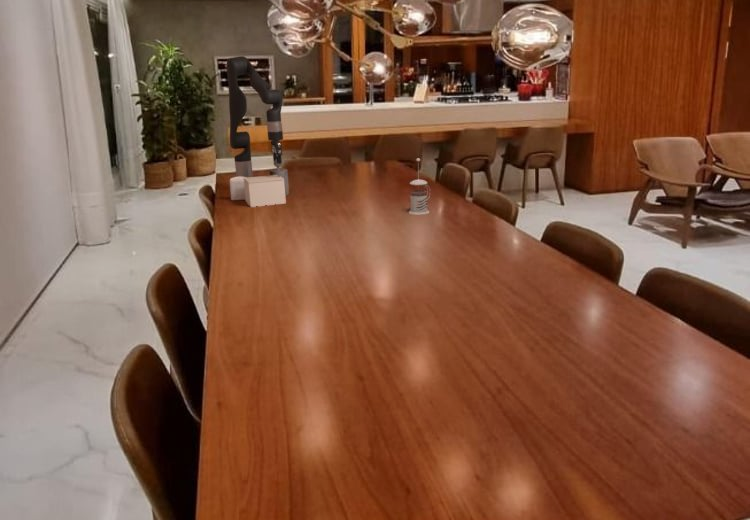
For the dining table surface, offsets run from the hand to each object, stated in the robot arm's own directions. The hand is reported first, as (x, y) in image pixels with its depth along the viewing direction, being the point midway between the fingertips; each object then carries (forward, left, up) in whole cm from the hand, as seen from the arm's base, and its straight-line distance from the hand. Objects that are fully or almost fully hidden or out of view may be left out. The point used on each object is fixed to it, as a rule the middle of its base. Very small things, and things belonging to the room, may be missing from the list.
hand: (277, 162), depth 326 cm
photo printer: (-16, -18, -20) cm, 32 cm away
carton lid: (0, -7, -8) cm, 11 cm away
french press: (+60, +52, -20) cm, 82 cm away
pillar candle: (-18, +4, -20) cm, 27 cm away
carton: (0, -8, -20) cm, 22 cm away
